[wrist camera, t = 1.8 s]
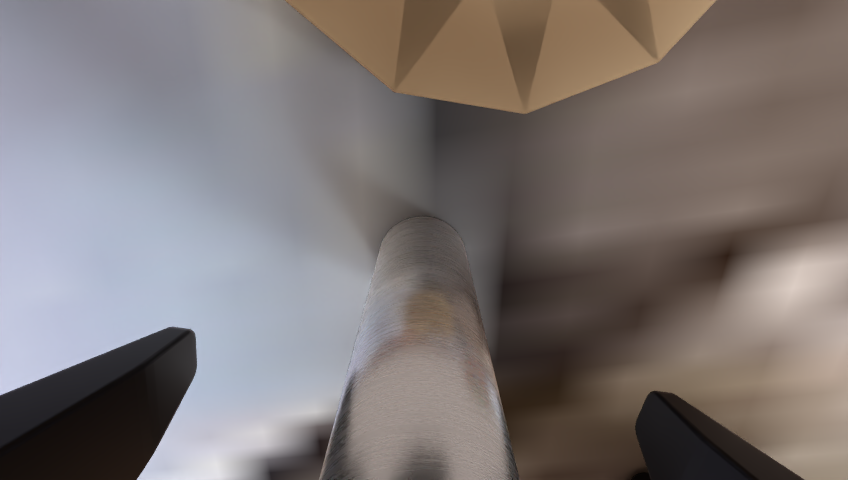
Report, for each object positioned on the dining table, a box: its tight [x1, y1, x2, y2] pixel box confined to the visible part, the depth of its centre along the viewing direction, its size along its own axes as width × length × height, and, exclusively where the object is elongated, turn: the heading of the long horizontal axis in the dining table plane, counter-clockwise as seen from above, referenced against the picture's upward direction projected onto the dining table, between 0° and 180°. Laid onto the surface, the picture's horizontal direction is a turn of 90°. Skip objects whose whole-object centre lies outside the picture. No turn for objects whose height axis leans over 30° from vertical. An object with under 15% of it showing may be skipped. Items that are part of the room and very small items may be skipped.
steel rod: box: [319, 216, 520, 480], centre depth 9 cm, size 3×3×9 cm
